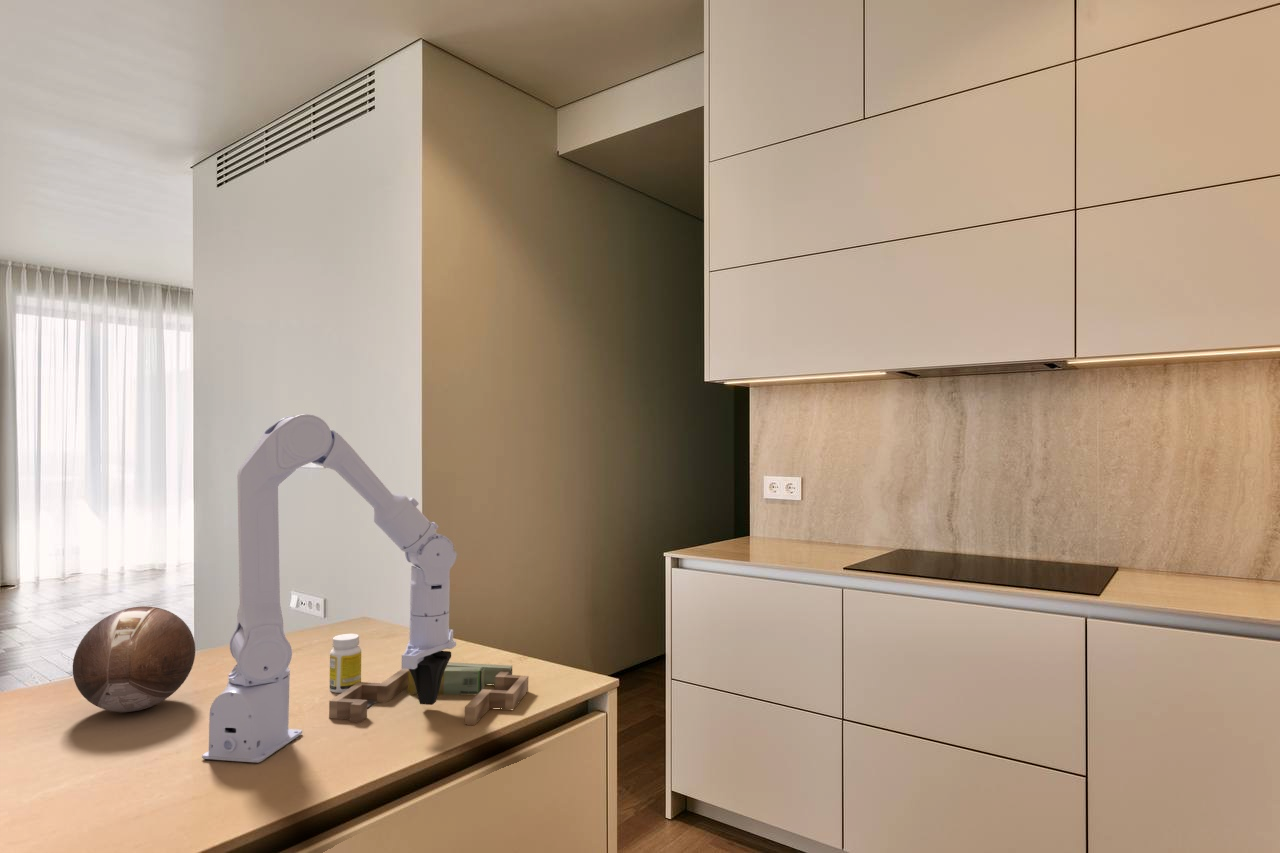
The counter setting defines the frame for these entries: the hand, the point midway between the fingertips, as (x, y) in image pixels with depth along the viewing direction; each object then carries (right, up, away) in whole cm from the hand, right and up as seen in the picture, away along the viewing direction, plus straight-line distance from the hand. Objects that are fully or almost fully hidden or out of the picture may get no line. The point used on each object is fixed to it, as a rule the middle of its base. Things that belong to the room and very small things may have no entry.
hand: (427, 702), depth 109 cm
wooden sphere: (-43, -1, -1) cm, 43 cm away
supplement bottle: (-16, -1, +9) cm, 18 cm away
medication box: (+1, -2, +8) cm, 8 cm away
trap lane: (0, -1, +3) cm, 3 cm away
